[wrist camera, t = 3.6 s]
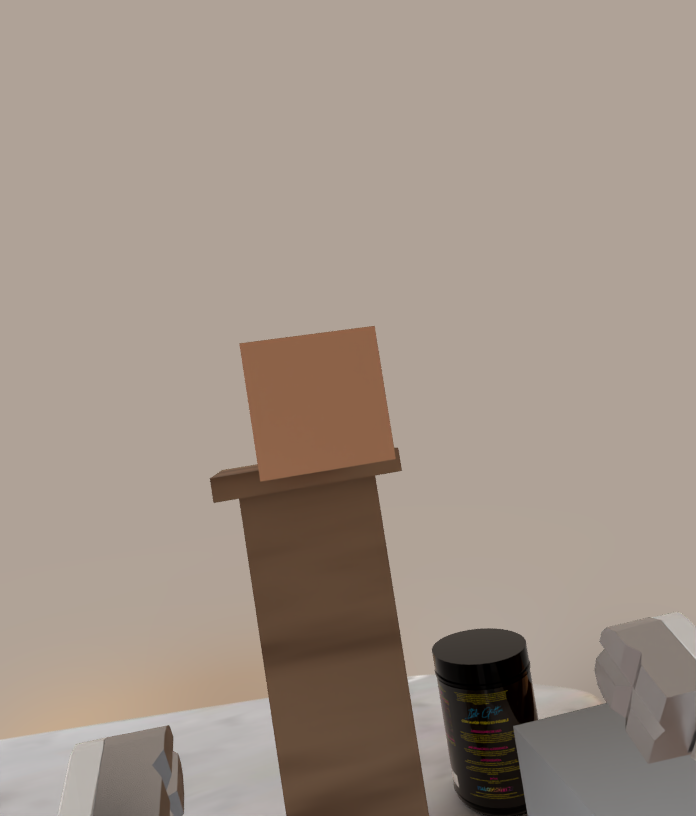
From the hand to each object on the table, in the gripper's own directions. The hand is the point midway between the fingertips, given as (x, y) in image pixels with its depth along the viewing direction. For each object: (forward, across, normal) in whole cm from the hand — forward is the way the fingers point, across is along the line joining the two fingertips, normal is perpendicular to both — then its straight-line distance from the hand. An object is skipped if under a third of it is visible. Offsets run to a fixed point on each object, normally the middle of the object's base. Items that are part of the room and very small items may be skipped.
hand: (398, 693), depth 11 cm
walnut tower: (+5, 0, +29) cm, 29 cm away
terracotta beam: (+17, 0, +6) cm, 18 cm away
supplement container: (+16, -12, +35) cm, 40 cm away
